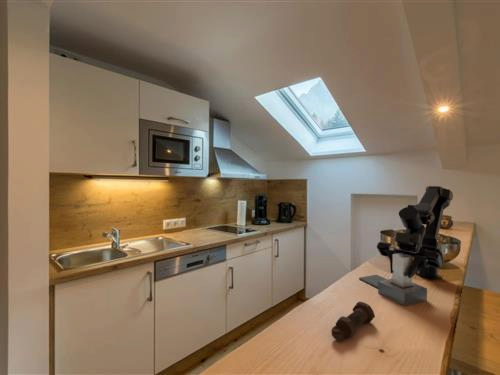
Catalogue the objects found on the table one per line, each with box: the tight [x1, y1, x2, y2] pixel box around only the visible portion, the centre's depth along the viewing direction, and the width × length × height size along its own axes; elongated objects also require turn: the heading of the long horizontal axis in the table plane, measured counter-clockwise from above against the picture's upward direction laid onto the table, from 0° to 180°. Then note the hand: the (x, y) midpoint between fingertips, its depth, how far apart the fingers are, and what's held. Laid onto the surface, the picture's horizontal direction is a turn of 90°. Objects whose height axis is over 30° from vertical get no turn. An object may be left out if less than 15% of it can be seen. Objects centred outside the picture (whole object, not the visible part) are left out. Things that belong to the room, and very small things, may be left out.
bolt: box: [331, 301, 376, 342], centre depth 66 cm, size 6×5×15 cm
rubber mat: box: [358, 274, 388, 289], centre depth 96 cm, size 9×9×1 cm
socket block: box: [377, 278, 428, 307], centre depth 84 cm, size 10×10×4 cm
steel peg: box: [391, 253, 413, 289], centre depth 84 cm, size 4×4×14 cm
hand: (400, 275), depth 83 cm, fingers closed on steel peg, 5 cm apart
